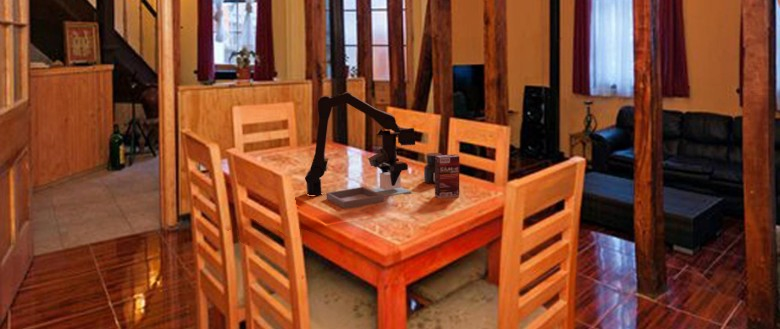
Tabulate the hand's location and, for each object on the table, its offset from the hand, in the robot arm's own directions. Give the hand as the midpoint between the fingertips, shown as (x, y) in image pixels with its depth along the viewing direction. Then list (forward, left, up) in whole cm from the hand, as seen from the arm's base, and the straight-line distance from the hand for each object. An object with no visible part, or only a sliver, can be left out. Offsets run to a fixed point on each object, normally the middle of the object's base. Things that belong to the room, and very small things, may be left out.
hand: (390, 184), depth 221 cm
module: (0, 0, -1) cm, 1 cm away
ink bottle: (-4, +24, -4) cm, 25 cm away
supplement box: (+18, +15, -4) cm, 24 cm away
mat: (0, 0, -3) cm, 3 cm away
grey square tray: (+4, -18, -3) cm, 19 cm away
